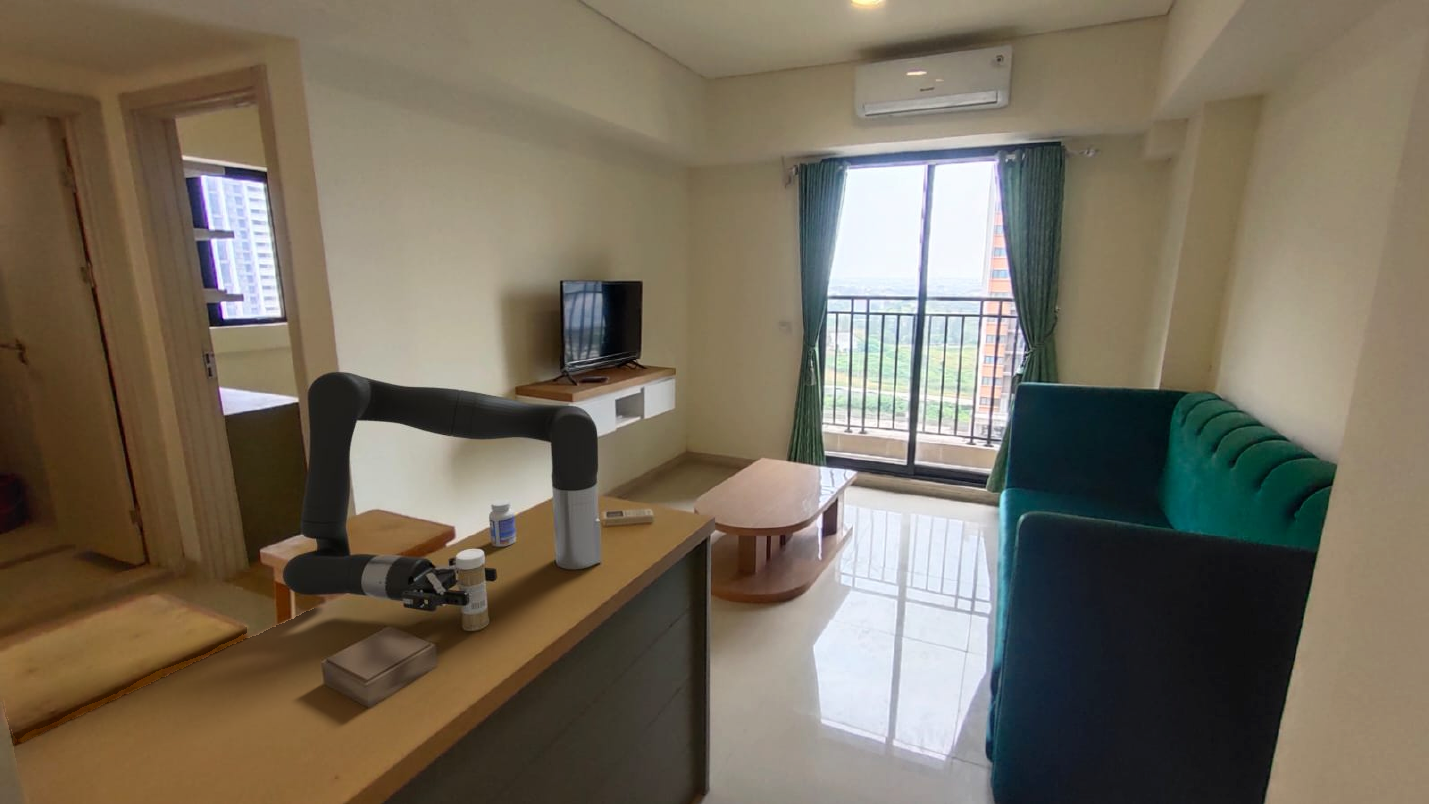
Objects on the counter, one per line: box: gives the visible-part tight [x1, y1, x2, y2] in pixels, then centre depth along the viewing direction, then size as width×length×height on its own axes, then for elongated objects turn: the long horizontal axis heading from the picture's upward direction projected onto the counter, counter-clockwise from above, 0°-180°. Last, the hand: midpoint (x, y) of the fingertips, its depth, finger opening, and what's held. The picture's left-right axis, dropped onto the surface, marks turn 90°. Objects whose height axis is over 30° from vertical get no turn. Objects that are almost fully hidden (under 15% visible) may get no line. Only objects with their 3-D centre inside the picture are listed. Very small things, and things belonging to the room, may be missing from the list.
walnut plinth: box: [320, 625, 438, 709], centre depth 93 cm, size 11×11×4 cm
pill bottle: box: [488, 499, 517, 548], centre depth 140 cm, size 5×5×10 cm
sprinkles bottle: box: [455, 548, 490, 632], centre depth 105 cm, size 5×5×13 cm
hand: (482, 586), depth 105 cm, fingers open, 8 cm apart
